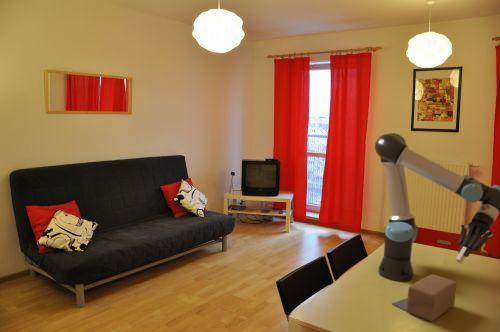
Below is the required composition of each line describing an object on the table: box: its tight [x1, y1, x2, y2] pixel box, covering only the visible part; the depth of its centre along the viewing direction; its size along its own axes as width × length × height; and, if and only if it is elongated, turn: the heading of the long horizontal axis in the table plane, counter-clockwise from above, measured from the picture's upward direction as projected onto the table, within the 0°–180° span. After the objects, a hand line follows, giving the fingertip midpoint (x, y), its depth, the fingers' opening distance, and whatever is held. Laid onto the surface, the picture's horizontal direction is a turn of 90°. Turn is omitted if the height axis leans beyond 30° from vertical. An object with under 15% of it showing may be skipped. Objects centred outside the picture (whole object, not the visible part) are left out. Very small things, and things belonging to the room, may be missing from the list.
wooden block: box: [407, 273, 457, 322], centre depth 151 cm, size 10×10×20 cm
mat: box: [391, 297, 454, 322], centre depth 154 cm, size 18×14×1 cm
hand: (458, 261), depth 164 cm, fingers closed
